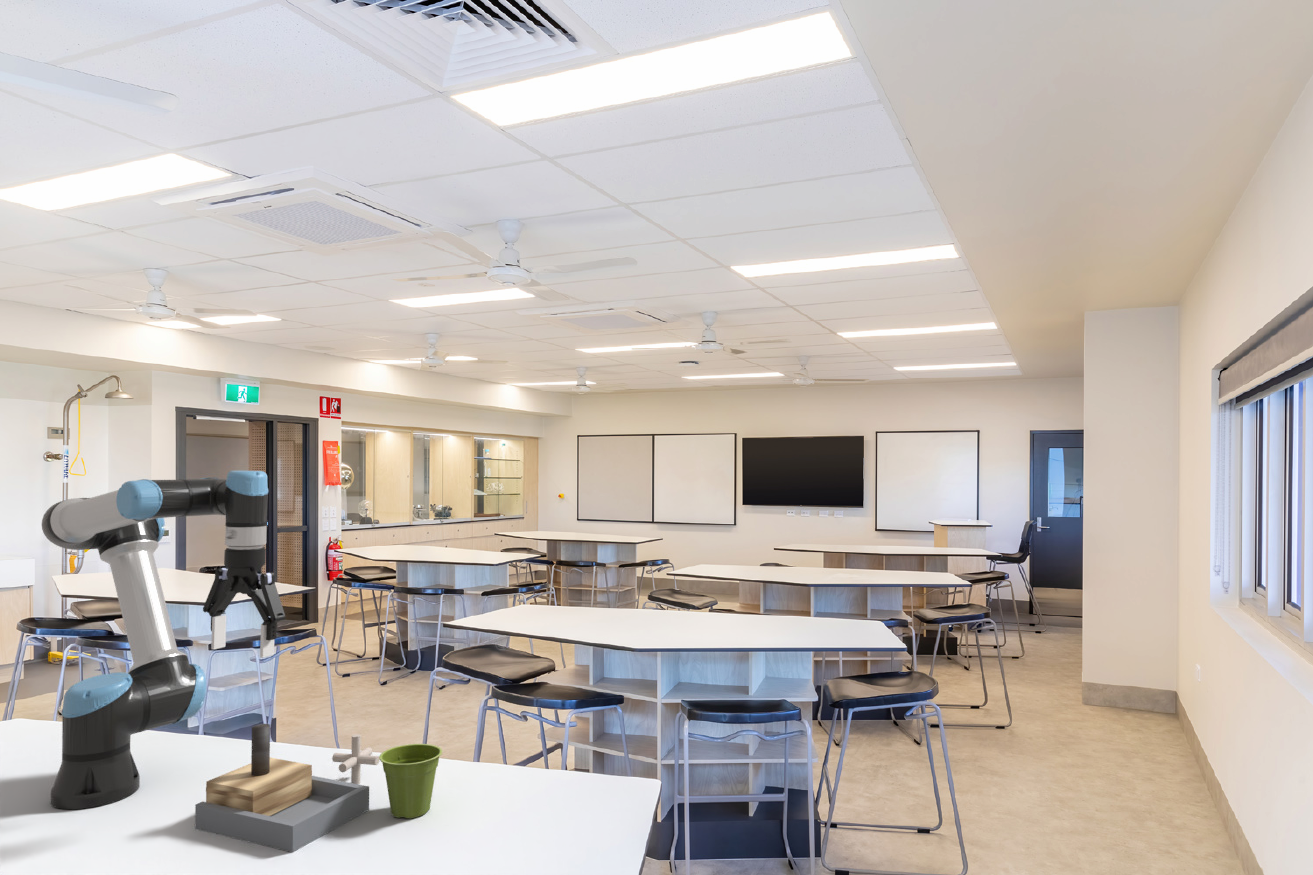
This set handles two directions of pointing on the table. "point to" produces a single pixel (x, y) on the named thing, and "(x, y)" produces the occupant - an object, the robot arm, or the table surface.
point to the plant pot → (410, 777)
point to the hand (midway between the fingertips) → (242, 652)
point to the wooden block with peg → (261, 780)
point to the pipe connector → (355, 759)
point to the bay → (289, 816)
